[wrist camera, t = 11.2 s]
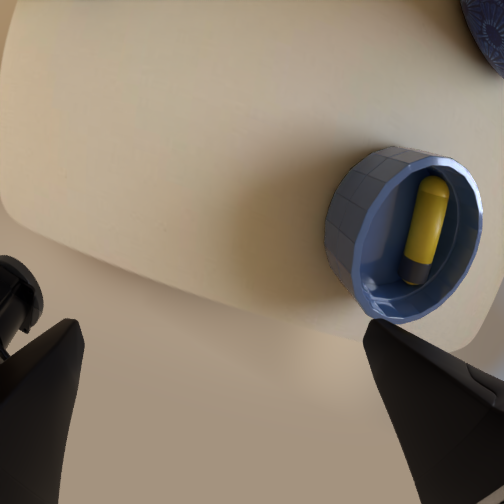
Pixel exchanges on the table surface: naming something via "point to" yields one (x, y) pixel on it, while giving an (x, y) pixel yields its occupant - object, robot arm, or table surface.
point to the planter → (487, 29)
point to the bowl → (399, 232)
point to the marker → (424, 230)
